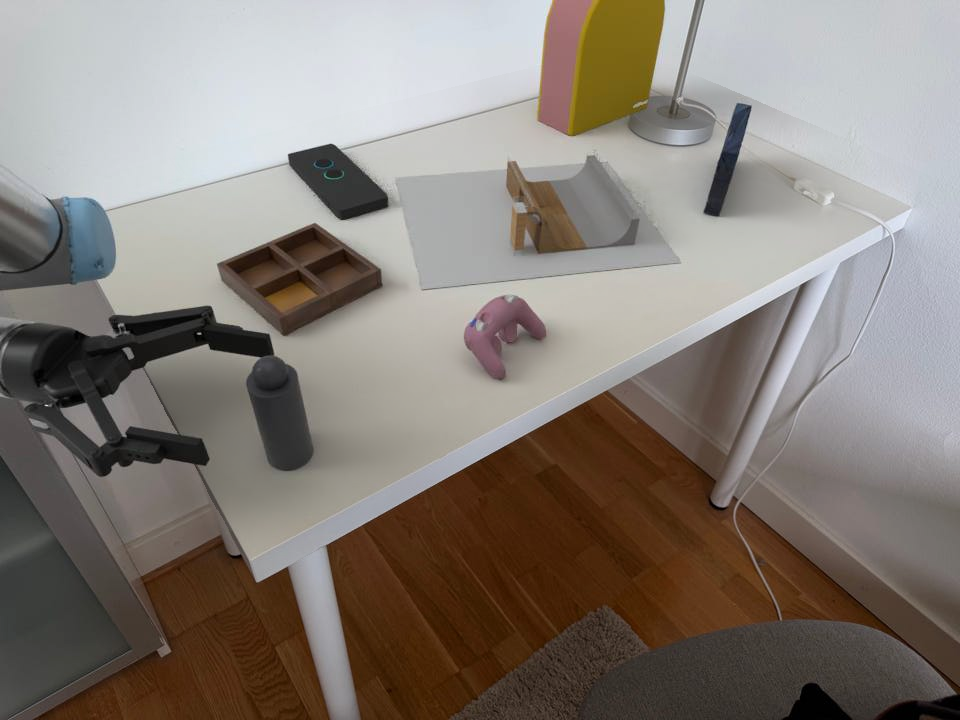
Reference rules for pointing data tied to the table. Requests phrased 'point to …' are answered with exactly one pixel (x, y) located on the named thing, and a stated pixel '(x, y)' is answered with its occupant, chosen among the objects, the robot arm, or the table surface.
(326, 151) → the smart home device
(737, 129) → the vhs cassette tape
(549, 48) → the yellow and pink slab
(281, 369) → the pawn
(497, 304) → the video game controller
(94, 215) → the robot arm
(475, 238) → the skate ramp
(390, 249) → the table surface
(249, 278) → the grid
